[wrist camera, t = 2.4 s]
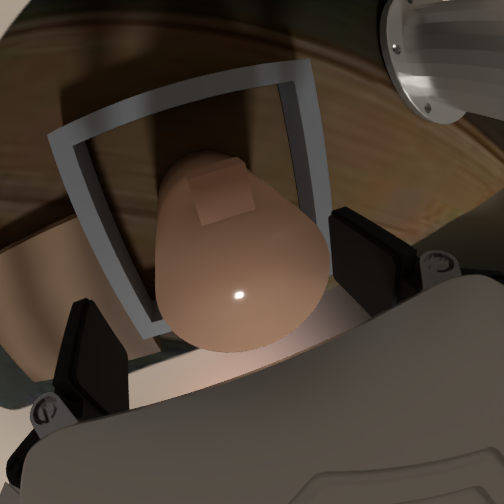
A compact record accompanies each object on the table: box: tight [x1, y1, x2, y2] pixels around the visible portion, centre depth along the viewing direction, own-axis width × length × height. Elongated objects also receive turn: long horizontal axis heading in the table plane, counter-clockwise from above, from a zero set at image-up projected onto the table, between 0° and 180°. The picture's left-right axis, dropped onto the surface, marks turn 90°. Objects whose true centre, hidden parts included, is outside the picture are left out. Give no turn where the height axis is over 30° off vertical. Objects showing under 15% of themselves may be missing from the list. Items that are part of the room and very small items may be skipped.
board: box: [0, 213, 161, 382], centre depth 18 cm, size 14×12×1 cm
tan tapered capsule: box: [155, 150, 330, 353], centre depth 14 cm, size 6×9×10 cm, turn 12°
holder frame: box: [47, 59, 333, 340], centre depth 17 cm, size 14×14×2 cm
